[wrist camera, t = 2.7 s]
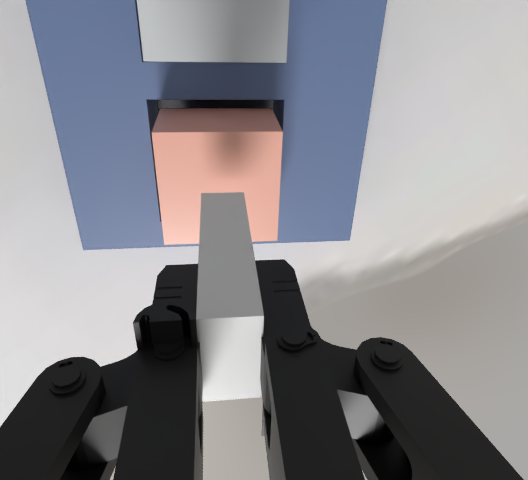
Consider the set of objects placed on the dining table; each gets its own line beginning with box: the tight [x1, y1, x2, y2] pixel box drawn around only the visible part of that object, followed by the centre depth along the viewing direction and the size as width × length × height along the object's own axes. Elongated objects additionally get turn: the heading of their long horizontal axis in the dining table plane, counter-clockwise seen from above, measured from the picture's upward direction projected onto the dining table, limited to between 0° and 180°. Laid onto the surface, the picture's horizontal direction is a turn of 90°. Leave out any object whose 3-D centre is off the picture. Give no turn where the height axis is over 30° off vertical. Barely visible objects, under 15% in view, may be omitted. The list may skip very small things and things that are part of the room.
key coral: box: [152, 108, 283, 245], centre depth 19 cm, size 5×5×4 cm
